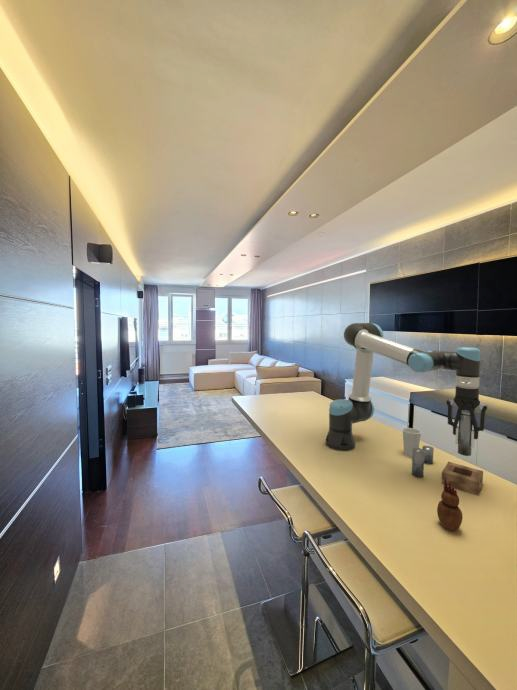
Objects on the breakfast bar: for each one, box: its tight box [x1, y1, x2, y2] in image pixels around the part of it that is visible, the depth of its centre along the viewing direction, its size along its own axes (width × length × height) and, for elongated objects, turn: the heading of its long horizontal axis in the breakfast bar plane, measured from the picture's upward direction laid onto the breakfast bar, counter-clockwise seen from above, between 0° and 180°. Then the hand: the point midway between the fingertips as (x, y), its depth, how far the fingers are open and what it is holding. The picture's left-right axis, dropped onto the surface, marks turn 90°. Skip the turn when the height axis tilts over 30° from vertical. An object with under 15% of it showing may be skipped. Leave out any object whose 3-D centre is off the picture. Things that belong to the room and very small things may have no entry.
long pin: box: [457, 412, 473, 457], centre depth 117 cm, size 4×4×16 cm
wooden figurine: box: [436, 478, 463, 531], centre depth 93 cm, size 7×6×15 cm
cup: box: [402, 427, 422, 458], centre depth 144 cm, size 8×8×12 cm
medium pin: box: [411, 447, 425, 479], centre depth 125 cm, size 4×4×11 cm
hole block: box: [441, 461, 484, 496], centre depth 118 cm, size 12×12×5 cm
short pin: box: [422, 445, 435, 465], centre depth 137 cm, size 4×4×7 cm
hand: (464, 444), depth 117 cm, fingers closed on long pin, 4 cm apart
